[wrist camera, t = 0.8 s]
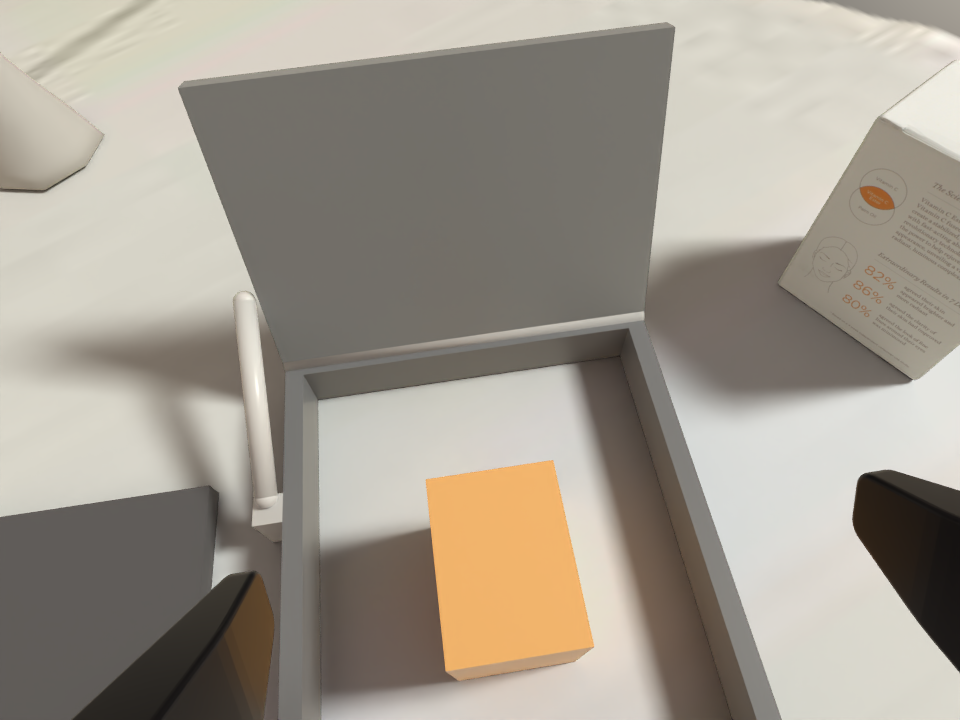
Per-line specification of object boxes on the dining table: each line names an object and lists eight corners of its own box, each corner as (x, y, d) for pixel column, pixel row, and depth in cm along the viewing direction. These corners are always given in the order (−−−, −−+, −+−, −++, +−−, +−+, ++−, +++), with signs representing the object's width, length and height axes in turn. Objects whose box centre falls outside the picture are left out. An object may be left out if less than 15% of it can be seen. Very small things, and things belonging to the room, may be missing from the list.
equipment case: (812, 896, 20) (1299, 1185, 8) (259, 1000, 19) (-175, 1503, 7) (608, 271, 33) (668, 14, 21) (279, 317, 32) (143, 78, 20)
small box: (975, 322, 30) (1175, 154, 21) (912, 385, 29) (1101, 233, 20) (835, 231, 34) (957, 52, 25) (772, 283, 32) (877, 112, 23)
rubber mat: (193, 823, 21) (180, 827, 20) (-162, 884, 21) (-192, 892, 20) (218, 492, 27) (209, 485, 26) (-56, 534, 27) (-74, 528, 26)
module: (574, 661, 23) (594, 646, 18) (459, 681, 23) (445, 671, 18) (543, 509, 26) (553, 460, 21) (441, 526, 26) (425, 479, 21)
